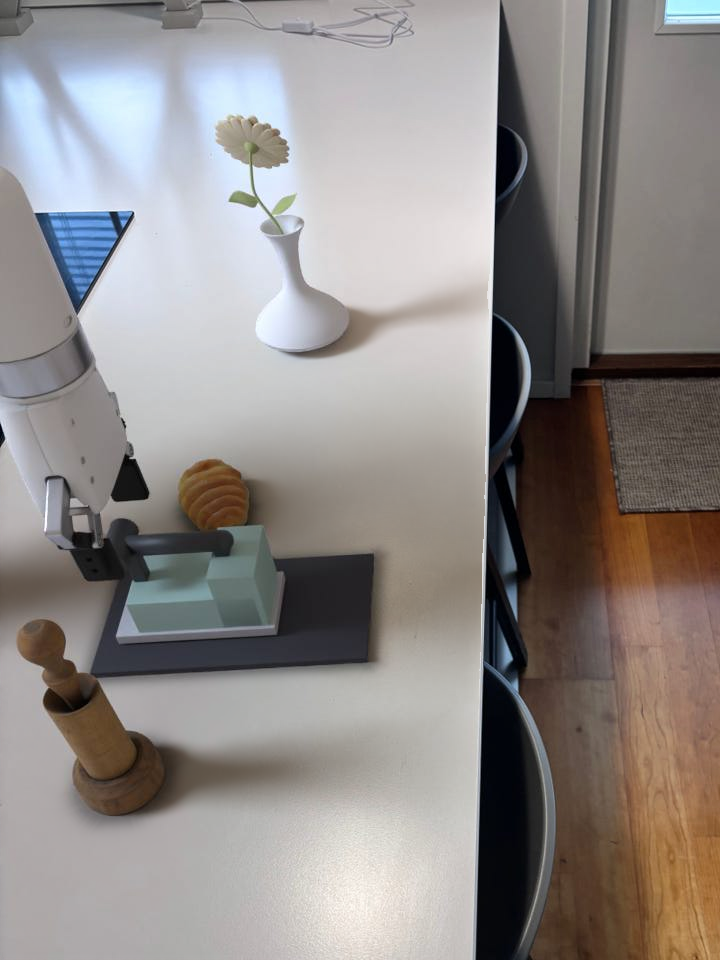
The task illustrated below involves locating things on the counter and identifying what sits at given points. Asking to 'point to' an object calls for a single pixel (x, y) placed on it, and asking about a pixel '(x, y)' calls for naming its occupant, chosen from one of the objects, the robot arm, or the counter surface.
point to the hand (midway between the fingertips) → (119, 537)
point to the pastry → (213, 495)
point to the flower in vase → (282, 248)
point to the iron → (197, 583)
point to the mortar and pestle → (91, 728)
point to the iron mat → (299, 641)
